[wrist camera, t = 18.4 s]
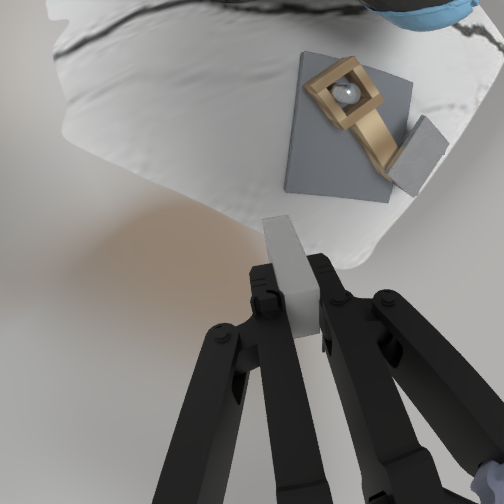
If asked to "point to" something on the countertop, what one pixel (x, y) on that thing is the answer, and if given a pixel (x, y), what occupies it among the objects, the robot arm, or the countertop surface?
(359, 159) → the base plate
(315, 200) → the countertop surface
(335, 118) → the link
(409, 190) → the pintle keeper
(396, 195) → the countertop surface
